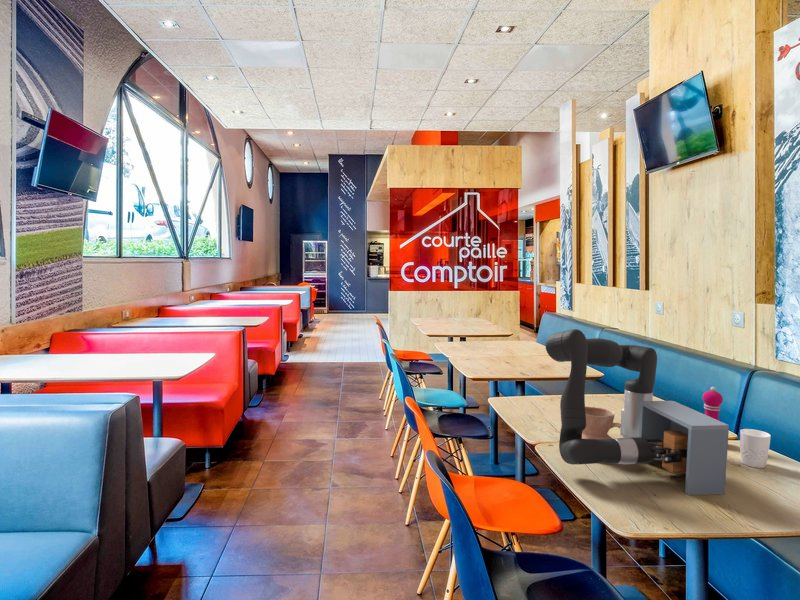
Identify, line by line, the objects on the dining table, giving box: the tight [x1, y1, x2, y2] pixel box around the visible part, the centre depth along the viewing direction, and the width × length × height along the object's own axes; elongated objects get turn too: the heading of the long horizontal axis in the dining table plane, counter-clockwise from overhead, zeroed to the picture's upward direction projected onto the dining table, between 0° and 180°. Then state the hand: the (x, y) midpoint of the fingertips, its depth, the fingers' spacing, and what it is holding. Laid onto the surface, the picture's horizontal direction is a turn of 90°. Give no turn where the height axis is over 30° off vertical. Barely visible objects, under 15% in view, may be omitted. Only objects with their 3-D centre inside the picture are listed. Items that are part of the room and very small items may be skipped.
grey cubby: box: [639, 400, 730, 496], centre depth 151 cm, size 11×24×19 cm, turn 5°
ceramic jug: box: [582, 406, 622, 440], centre depth 169 cm, size 18×14×14 cm
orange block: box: [661, 431, 688, 475], centre depth 151 cm, size 5×5×11 cm
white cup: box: [739, 428, 772, 469], centre depth 161 cm, size 8×8×10 cm
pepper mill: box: [702, 386, 724, 421], centre depth 179 cm, size 7×7×20 cm
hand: (684, 449), depth 151 cm, fingers closed on orange block, 5 cm apart
